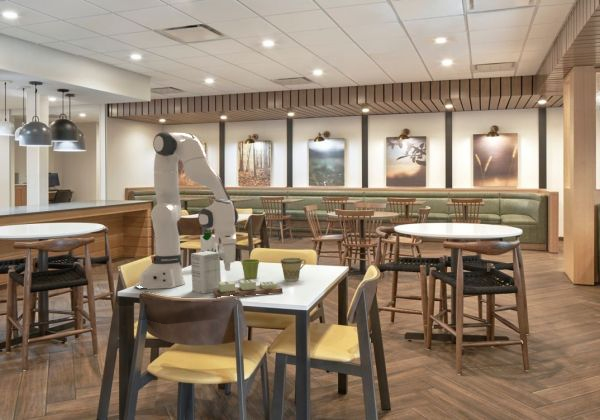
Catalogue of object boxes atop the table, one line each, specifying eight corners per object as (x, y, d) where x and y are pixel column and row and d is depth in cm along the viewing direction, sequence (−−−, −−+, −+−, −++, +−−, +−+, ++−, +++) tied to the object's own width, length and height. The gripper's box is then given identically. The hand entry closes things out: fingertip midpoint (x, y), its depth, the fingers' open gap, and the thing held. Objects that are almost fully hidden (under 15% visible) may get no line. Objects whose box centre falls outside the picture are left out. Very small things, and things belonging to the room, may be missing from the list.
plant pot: (257, 280, 242) (256, 262, 241) (238, 279, 244) (238, 262, 243) (262, 276, 251) (262, 259, 251) (244, 276, 253) (244, 259, 253)
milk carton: (199, 268, 277) (198, 232, 276) (205, 265, 286) (204, 230, 285) (214, 268, 276) (213, 232, 275) (219, 265, 285) (218, 230, 284)
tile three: (263, 292, 213) (262, 284, 213) (259, 289, 219) (259, 282, 219) (276, 290, 215) (276, 283, 215) (273, 288, 221) (273, 281, 220)
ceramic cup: (287, 282, 234) (287, 261, 234) (277, 279, 243) (277, 259, 242) (311, 279, 241) (310, 259, 240) (300, 276, 249) (300, 256, 249)
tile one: (220, 292, 208) (220, 284, 207) (218, 289, 213) (218, 281, 213) (235, 290, 209) (234, 283, 209) (232, 287, 215) (232, 280, 215)
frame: (216, 298, 205) (216, 293, 205) (213, 293, 215) (213, 289, 215) (282, 292, 214) (282, 288, 213) (276, 288, 223) (276, 283, 223)
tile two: (242, 290, 210) (241, 282, 210) (239, 287, 216) (239, 280, 216) (256, 289, 212) (255, 281, 212) (253, 286, 218) (252, 279, 218)
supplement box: (209, 287, 228) (208, 250, 227) (221, 290, 222) (220, 252, 221) (191, 290, 221) (190, 253, 220) (203, 293, 215) (202, 255, 214)
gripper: (214, 235, 219) (216, 267, 220) (221, 240, 199) (223, 275, 200) (228, 234, 221) (230, 265, 222) (237, 239, 201) (239, 273, 202)
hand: (227, 270), depth 211 cm, fingers closed
